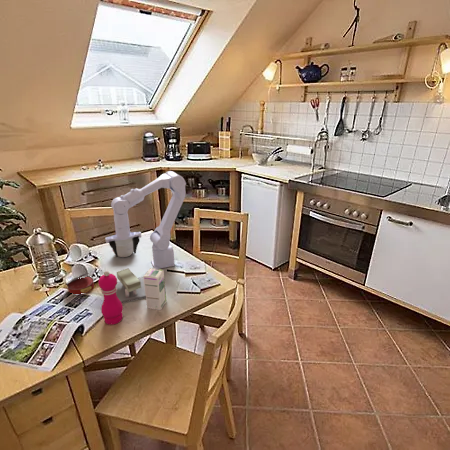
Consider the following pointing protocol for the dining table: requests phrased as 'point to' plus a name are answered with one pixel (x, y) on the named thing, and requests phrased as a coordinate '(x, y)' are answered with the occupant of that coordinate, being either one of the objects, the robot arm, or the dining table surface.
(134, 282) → the pale green block
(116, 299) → the pepper mill
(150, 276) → the syrup box
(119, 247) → the teacup
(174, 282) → the dining table surface
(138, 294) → the peg stand
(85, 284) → the canned food
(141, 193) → the robot arm
